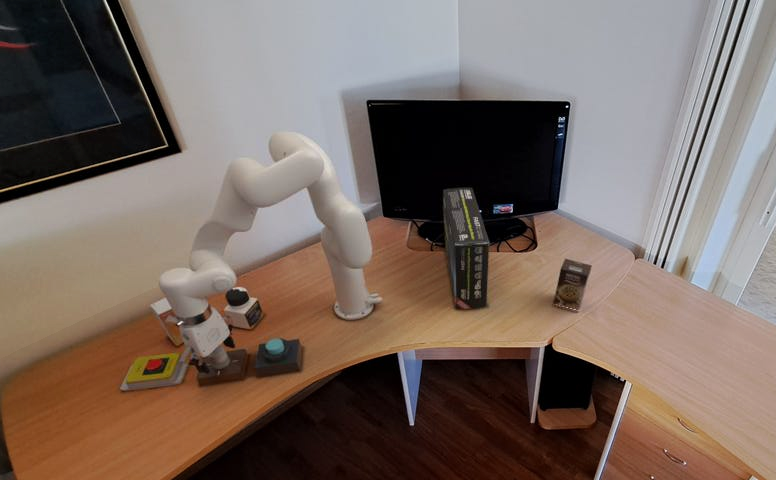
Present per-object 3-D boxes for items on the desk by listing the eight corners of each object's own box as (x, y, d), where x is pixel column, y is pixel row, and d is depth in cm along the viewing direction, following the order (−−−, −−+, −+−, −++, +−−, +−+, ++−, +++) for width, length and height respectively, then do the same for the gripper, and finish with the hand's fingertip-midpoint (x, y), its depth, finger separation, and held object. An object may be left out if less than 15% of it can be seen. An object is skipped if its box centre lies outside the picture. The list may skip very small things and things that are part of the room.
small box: (177, 347, 131) (157, 315, 123) (168, 336, 134) (148, 304, 126) (204, 332, 136) (188, 300, 128) (195, 322, 139) (178, 291, 131)
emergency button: (174, 373, 118) (111, 381, 116) (181, 384, 121) (119, 391, 119) (184, 348, 125) (125, 355, 123) (190, 358, 128) (133, 365, 126)
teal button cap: (285, 342, 127) (283, 337, 125) (283, 353, 123) (281, 348, 122) (268, 344, 126) (266, 339, 124) (266, 356, 123) (264, 351, 121)
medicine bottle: (251, 330, 137) (238, 301, 130) (230, 326, 138) (217, 297, 131) (264, 314, 143) (253, 286, 135) (244, 311, 144) (232, 282, 136)
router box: (443, 250, 173) (441, 187, 156) (471, 248, 175) (472, 186, 157) (455, 311, 147) (454, 244, 129) (487, 308, 149) (491, 242, 131)
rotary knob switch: (248, 355, 130) (245, 348, 128) (243, 379, 123) (239, 372, 121) (207, 361, 128) (203, 353, 126) (200, 385, 121) (195, 378, 119)
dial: (231, 356, 125) (224, 343, 122) (228, 367, 122) (221, 355, 119) (214, 358, 125) (207, 345, 121) (211, 370, 121) (203, 357, 118)
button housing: (302, 348, 133) (297, 334, 129) (300, 371, 126) (294, 357, 122) (263, 353, 131) (257, 339, 127) (258, 377, 124) (252, 363, 120)
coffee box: (552, 306, 151) (559, 268, 140) (557, 294, 155) (564, 257, 145) (578, 313, 148) (588, 275, 138) (582, 302, 153) (592, 264, 142)
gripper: (179, 340, 104) (205, 386, 115) (231, 295, 117) (250, 340, 128) (153, 332, 105) (182, 378, 116) (207, 289, 118) (228, 334, 129)
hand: (217, 358), depth 122 cm, fingers open, 9 cm apart
